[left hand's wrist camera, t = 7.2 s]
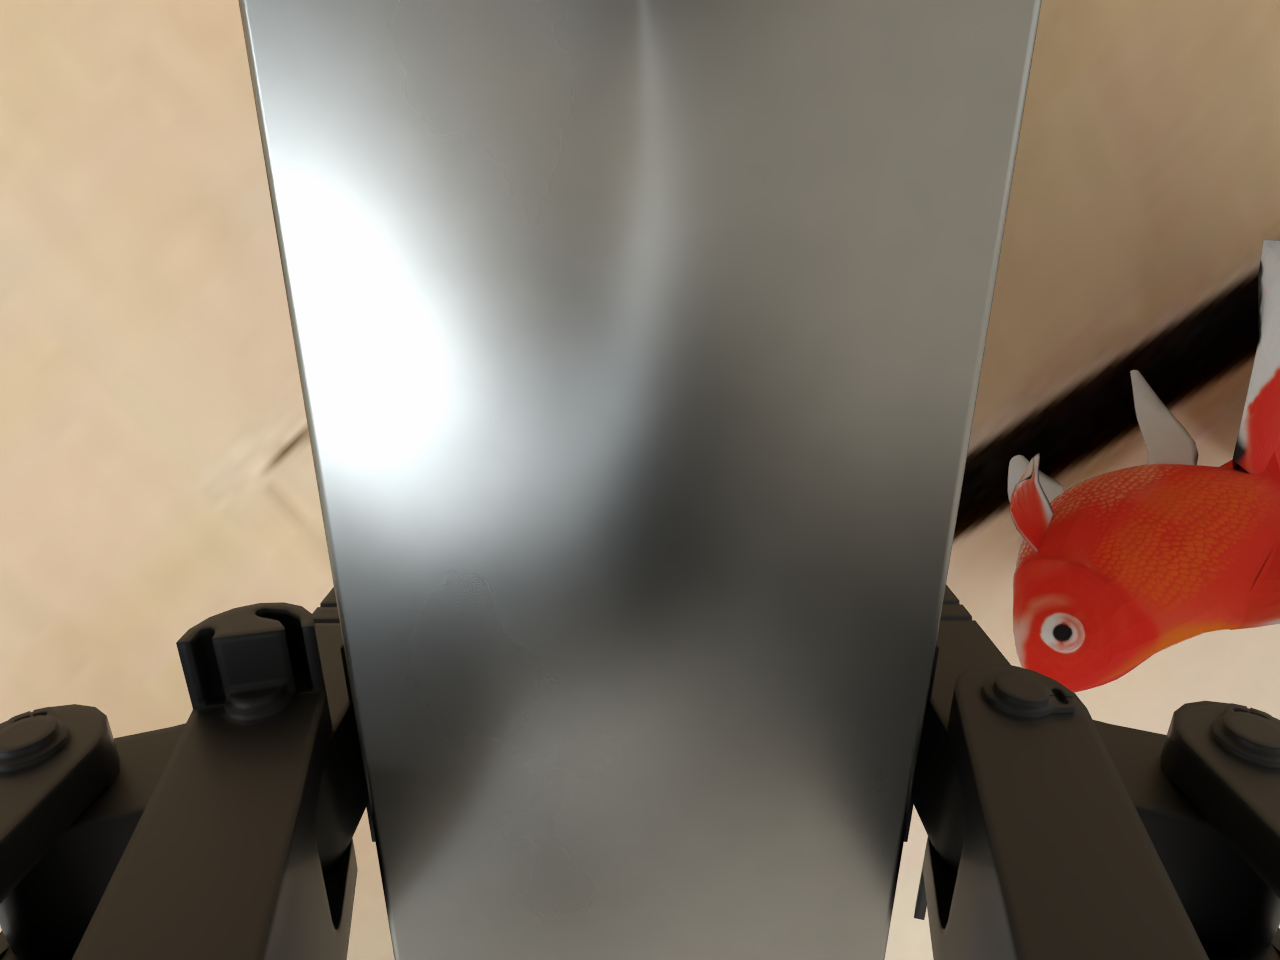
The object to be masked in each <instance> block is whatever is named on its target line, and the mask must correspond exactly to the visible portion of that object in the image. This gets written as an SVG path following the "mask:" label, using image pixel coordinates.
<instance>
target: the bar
mask: <svg viewBox="0 0 1280 960" xmlns="http://www.w3.org/2000/svg"><path fill="white" fill-rule="evenodd" d="M1041 1H1042V0H239V6H240V12H241V18H242V24H243V31H244V37H245V43H246V49H247V55H248V61H249V67H250V74H251V80H252V86H253V92H254V98H255V104H256V110H257V116H258V123H259V129H260V135H261V141H262V147H263V153H264V159H265V166H266V172H267V178H268V184H269V190H270V196H271V202H272V209H273V215H274V221H275V227H276V233H277V239H278V245H279V252H280V258H281V264H282V270H283V276H284V282H285V288H286V294H287V301H288V307H289V313H290V319H291V325H292V331H293V337H294V344H295V350H296V356H297V362H298V368H299V374H300V380H301V387H302V393H303V399H304V405H305V411H306V417H307V423H308V429H309V436H310V442H311V448H312V454H313V460H314V466H315V472H316V479H317V485H318V491H319V497H320V503H321V509H322V515H323V522H324V528H325V534H326V540H327V546H328V552H329V558H330V565H331V571H332V577H333V583H334V589H335V595H336V601H337V607H338V614H339V620H340V626H341V632H342V638H343V644H344V650H345V657H346V663H347V669H348V675H349V681H350V687H351V693H352V700H353V706H354V712H355V718H356V724H357V730H358V736H359V742H360V749H361V755H362V761H363V767H364V773H365V779H366V785H367V792H368V798H369V804H370V810H371V816H372V822H373V828H374V835H375V841H376V847H377V853H378V859H379V865H380V871H381V878H382V884H383V890H384V896H385V902H386V908H387V914H388V920H389V927H390V933H391V939H392V945H393V951H394V957H395V960H884V958H885V952H886V946H887V940H888V934H889V928H890V921H891V915H892V909H893V903H894V897H895V891H896V885H897V879H898V873H899V867H900V861H901V854H902V848H903V842H904V836H905V830H906V824H907V818H908V812H909V806H910V800H911V793H912V787H913V781H914V775H915V769H916V763H917V757H918V751H919V745H920V739H921V732H922V726H923V720H924V714H925V708H926V702H927V696H928V690H929V684H930V678H931V671H932V665H933V659H934V653H935V647H936V641H937V635H938V629H939V623H940V617H941V610H942V604H943V598H944V592H945V586H946V580H947V574H948V568H949V562H950V556H951V549H952V543H953V537H954V531H955V525H956V519H957V513H958V507H959V501H960V495H961V488H962V482H963V476H964V470H965V464H966V458H967V452H968V446H969V440H970V434H971V427H972V421H973V415H974V409H975V403H976V397H977V391H978V385H979V379H980V373H981V366H982V360H983V354H984V348H985V342H986V336H987V330H988V324H989V318H990V312H991V305H992V299H993V293H994V287H995V281H996V275H997V269H998V263H999V257H1000V251H1001V244H1002V238H1003V232H1004V226H1005V220H1006V214H1007V208H1008V202H1009V196H1010V190H1011V183H1012V177H1013V171H1014V165H1015V159H1016V153H1017V147H1018V141H1019V135H1020V129H1021V122H1022V116H1023V110H1024V104H1025V98H1026V92H1027V86H1028V80H1029V74H1030V68H1031V62H1032V55H1033V49H1034V43H1035V37H1036V31H1037V25H1038V19H1039V13H1040V7H1041Z"/></svg>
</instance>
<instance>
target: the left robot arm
mask: <svg viewBox="0 0 1280 960" xmlns="http://www.w3.org/2000/svg"><path fill="white" fill-rule="evenodd" d="M176 644H177V648H178V652H179V656H180V660H181V663H182V667H183V671H184V675H185V679H186V683H187V687H188V691H189V695H190V699H191V702H192V706H193V711H192V713H191V715H190V717H189V719H188V721H187V723H185V724H181V725H178V726H174V727H169V728H164V729H159V730H154V731H149V732H144V733H139V734H134V735H129V736H124V737H119V738H114V739H113V736H112V732H111V729H110V726H109V723H108V719H107V716H106V715H105V714H104V713H102V712H101V711H100V710H98V709H97V708H96V707H90V706H83V705H76V704H74V705H65V706H56V707H46V708H42V709H37V710H34V712H30V711H29V712H26V713H23V714H20V715H17V716H15V717H12V718H11V719H9V720H8V721H6V722H4V723H1V724H0V926H1V929H2V931H1V933H0V960H346V959H347V951H348V943H349V935H350V927H351V918H352V910H353V902H354V894H355V886H356V877H357V863H356V856H355V850H354V845H353V839H352V837H353V835H354V832H355V830H356V828H357V826H358V824H359V821H360V819H361V817H362V815H363V813H364V810H365V808H366V807H367V813H368V819H369V825H370V831H371V837H372V842H376V841H375V835H374V828H373V822H372V816H371V810H370V804H369V798H368V792H367V785H366V779H365V773H364V767H363V761H362V755H361V749H360V742H359V736H358V730H357V724H356V718H355V712H354V706H353V700H352V693H351V687H350V681H349V675H348V669H347V663H346V657H345V650H344V644H343V638H342V632H341V626H340V620H339V614H338V607H337V601H336V595H335V589H334V587H333V589H332V590H331V591H330V592H329V594H328V595H327V596H326V597H325V599H324V600H323V601H322V602H321V606H320V607H317V609H316V610H315V611H314V612H313V614H311V613H310V612H309V611H307V610H306V609H305V608H303V607H302V606H297V605H293V604H288V603H259V604H254V605H249V606H244V607H239V608H234V609H231V610H229V611H226V612H223V613H220V614H218V615H215V616H212V617H209V618H208V619H206V620H204V621H203V622H201V623H199V624H197V625H196V626H194V627H192V628H191V629H189V630H188V631H187V632H186V633H185V634H184V635H183V636H182V637H181V638H180V639H179V640H178V642H177V643H176ZM913 804H914V806H915V808H916V810H917V812H918V814H919V817H920V819H921V821H922V823H923V825H924V828H925V830H926V832H927V834H928V839H927V845H926V850H925V856H924V861H923V867H922V873H921V878H920V884H919V889H918V895H917V901H916V907H915V914H914V918H917V919H922V920H924V918H925V912H926V907H927V908H928V917H929V925H930V933H931V941H932V949H933V958H934V960H1280V929H1279V928H1278V927H1279V925H1280V720H1278V719H1276V718H1274V717H1272V716H1271V715H1269V714H1267V713H1265V712H1262V711H1259V710H1256V709H1253V708H1250V709H1248V708H1247V707H1246V706H1242V705H1237V704H1228V703H1220V702H1211V701H1201V702H1194V703H1187V704H1184V705H1183V706H1181V707H1180V708H1179V709H1178V710H1176V711H1175V712H1174V714H1173V717H1172V720H1171V724H1170V727H1169V730H1168V733H1167V735H1163V734H1157V733H1152V732H1147V731H1142V730H1137V729H1132V728H1127V727H1122V726H1117V725H1112V724H1107V723H1103V722H1100V721H1096V720H1092V718H1091V716H1090V714H1089V712H1088V710H1087V708H1086V707H1085V705H1084V704H1083V703H1082V702H1081V700H1080V699H1079V698H1078V697H1077V695H1076V694H1075V693H1073V692H1072V691H1071V690H1069V689H1068V688H1066V687H1065V686H1063V685H1062V684H1060V683H1059V682H1057V681H1056V680H1054V679H1052V678H1049V677H1047V676H1045V675H1042V674H1040V673H1037V672H1035V671H1033V670H1029V669H1025V668H1020V667H1016V666H1012V665H1010V663H1009V662H1008V661H1007V660H1006V658H1005V657H1004V656H1003V655H1002V653H1001V652H1000V651H999V650H998V648H997V647H996V646H995V645H994V643H993V642H992V641H991V640H990V638H989V637H988V636H987V635H986V633H985V632H984V631H983V630H982V628H981V627H980V626H979V625H978V623H977V622H976V621H972V616H971V615H970V614H969V612H968V611H967V610H966V609H965V607H964V606H963V605H960V604H959V600H958V599H957V597H956V596H955V595H954V594H953V592H952V591H951V590H950V589H949V587H948V586H947V585H946V586H945V592H944V598H943V604H942V610H941V617H940V623H939V629H938V635H937V641H936V647H935V653H934V659H933V665H932V671H931V678H930V684H929V690H928V696H927V702H926V708H925V714H924V720H923V726H922V732H921V739H920V745H919V751H918V757H917V763H916V769H915V775H914V781H913V787H912V793H911V800H910V806H909V812H908V818H907V824H906V830H905V836H904V842H907V840H908V834H909V828H910V822H911V816H912V810H913Z"/></svg>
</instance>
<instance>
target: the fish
mask: <svg viewBox="0 0 1280 960" xmlns="http://www.w3.org/2000/svg"><path fill="white" fill-rule="evenodd" d="M1258 309H1259V342H1258V346H1257V351H1256V356H1255V360H1254V365H1253V370H1252V374H1251V379H1250V383H1249V388H1248V393H1247V397H1246V402H1245V406H1244V411H1243V416H1242V420H1241V425H1240V429H1239V433H1238V438H1237V442H1236V447H1235V451H1234V456H1233V460H1231V461H1229V462H1227V463H1226V464H1224V465H1222V466H1220V467H1210V466H1197V459H1198V451H1197V448H1196V444H1195V442H1194V440H1193V439H1192V438H1191V436H1190V435H1189V433H1188V432H1187V430H1186V429H1185V428H1184V427H1183V426H1182V425H1181V424H1180V422H1179V421H1178V420H1177V419H1176V418H1175V417H1174V416H1173V414H1172V413H1171V412H1170V411H1169V410H1168V409H1167V408H1166V406H1165V405H1164V404H1163V403H1162V401H1161V400H1160V399H1159V398H1158V396H1157V395H1156V394H1155V392H1154V391H1153V390H1152V388H1151V387H1150V386H1149V384H1148V383H1147V382H1146V380H1145V379H1144V378H1143V376H1142V375H1141V374H1140V372H1139V371H1138V370H1131V371H1130V374H1131V380H1132V387H1133V395H1134V404H1135V410H1136V416H1137V420H1138V423H1139V426H1140V429H1141V433H1142V435H1143V438H1144V441H1145V445H1146V449H1147V453H1148V465H1142V466H1136V467H1130V468H1126V469H1121V470H1117V471H1113V472H1109V473H1106V474H1102V475H1099V476H1096V477H1093V478H1090V479H1088V480H1086V481H1083V482H1081V483H1079V484H1077V485H1075V486H1073V487H1072V488H1070V489H1068V490H1067V491H1065V492H1064V490H1063V487H1062V485H1061V484H1060V483H1059V482H1057V481H1056V480H1054V479H1053V478H1051V477H1049V476H1047V475H1046V474H1044V473H1042V472H1041V471H1040V470H1039V461H1040V453H1038V454H1037V455H1035V456H1034V457H1033V458H1032V459H1031V461H1030V462H1029V461H1028V460H1027V459H1026V458H1025V457H1024V456H1022V455H1017V456H1014V457H1013V458H1012V459H1011V460H1010V464H1009V471H1008V496H1009V501H1010V514H1011V517H1012V519H1013V521H1014V524H1015V526H1016V528H1017V530H1018V531H1019V533H1020V534H1021V535H1022V536H1023V538H1024V540H1023V542H1022V544H1021V547H1020V551H1019V555H1018V560H1017V566H1016V570H1015V574H1014V584H1013V592H1014V602H1013V631H1014V638H1015V644H1016V650H1017V655H1018V657H1019V660H1020V663H1021V666H1022V668H1025V669H1029V670H1033V671H1035V672H1037V673H1040V674H1042V675H1045V676H1047V677H1049V678H1052V679H1054V680H1056V681H1057V682H1059V683H1060V684H1062V685H1063V686H1065V687H1066V688H1068V689H1069V690H1071V691H1072V692H1073V693H1074V692H1078V691H1083V690H1087V689H1090V688H1094V687H1097V686H1101V685H1104V684H1106V683H1109V682H1111V681H1114V680H1116V679H1118V678H1120V677H1122V676H1123V675H1125V674H1126V673H1128V672H1129V671H1131V670H1132V669H1134V668H1135V667H1136V666H1138V665H1139V664H1141V663H1142V662H1143V661H1145V660H1146V659H1148V658H1149V657H1151V656H1152V655H1153V654H1155V653H1157V652H1159V651H1161V650H1163V649H1165V648H1167V647H1170V646H1172V645H1174V644H1177V643H1179V642H1181V641H1184V640H1186V639H1189V638H1191V637H1194V636H1197V635H1199V634H1202V633H1204V632H1210V631H1216V630H1222V629H1230V630H1233V629H1243V628H1253V627H1260V626H1267V625H1273V624H1280V241H1274V240H1263V247H1262V254H1261V261H1260V268H1259V275H1258Z"/></svg>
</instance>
